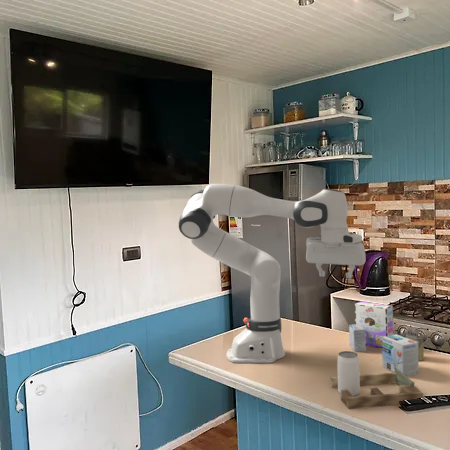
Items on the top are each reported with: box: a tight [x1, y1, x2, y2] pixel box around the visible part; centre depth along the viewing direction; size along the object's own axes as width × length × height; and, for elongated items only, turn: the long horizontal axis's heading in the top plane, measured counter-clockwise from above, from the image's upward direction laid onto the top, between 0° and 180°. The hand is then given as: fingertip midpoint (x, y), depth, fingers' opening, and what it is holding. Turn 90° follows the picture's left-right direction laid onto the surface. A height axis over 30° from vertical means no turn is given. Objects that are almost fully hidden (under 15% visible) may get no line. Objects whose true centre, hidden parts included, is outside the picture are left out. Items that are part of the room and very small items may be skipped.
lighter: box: [405, 329, 425, 362], centre depth 169 cm, size 7×4×10 cm, turn 27°
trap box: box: [329, 369, 424, 410], centre depth 140 cm, size 22×16×4 cm
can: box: [336, 350, 361, 397], centre depth 142 cm, size 6×6×12 cm
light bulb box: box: [381, 334, 419, 377], centre depth 158 cm, size 11×7×11 cm, turn 21°
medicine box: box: [348, 324, 367, 353], centre depth 182 cm, size 8×4×9 cm, turn 179°
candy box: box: [354, 300, 394, 350], centre depth 185 cm, size 14×6×16 cm, turn 44°
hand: (335, 277), depth 159 cm, fingers open, 8 cm apart
